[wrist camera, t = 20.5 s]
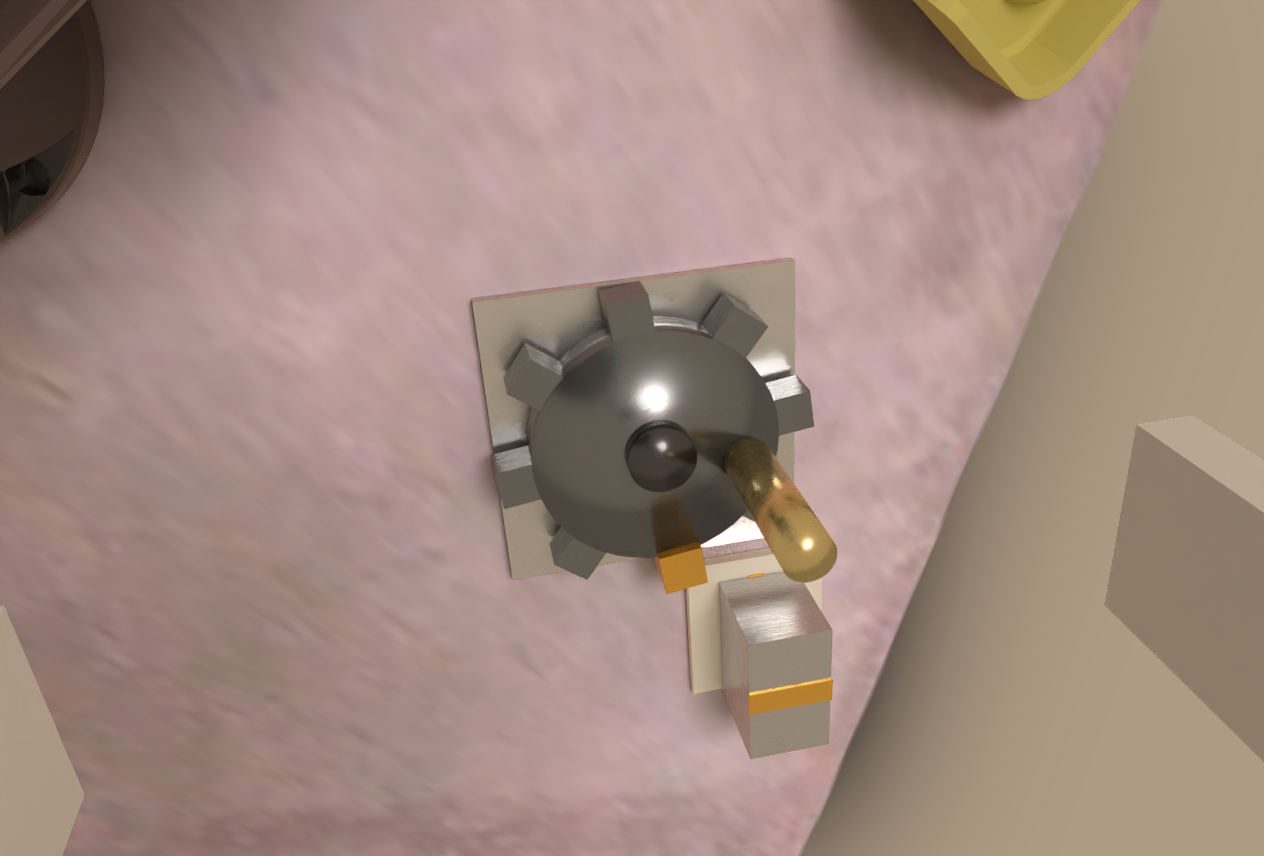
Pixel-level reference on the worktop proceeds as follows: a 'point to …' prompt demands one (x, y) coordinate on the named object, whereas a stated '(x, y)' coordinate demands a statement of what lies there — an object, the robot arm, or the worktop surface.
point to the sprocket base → (577, 314)
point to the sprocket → (661, 443)
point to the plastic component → (1027, 37)
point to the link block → (775, 663)
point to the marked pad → (707, 611)
